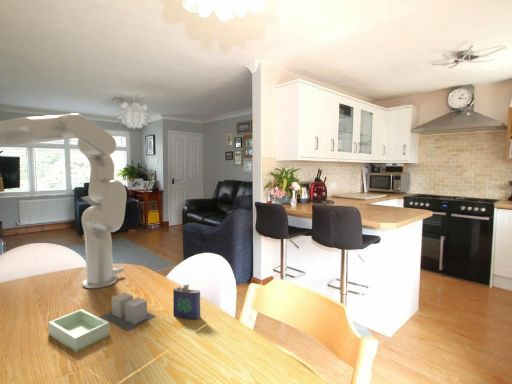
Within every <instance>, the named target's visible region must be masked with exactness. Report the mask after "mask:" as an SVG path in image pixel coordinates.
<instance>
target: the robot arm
mask: <svg viewBox="0 0 512 384" xmlns="http://www.w3.org/2000/svg"><path fill="white" fill-rule="evenodd" d="M70 139H77V147H78V149H79V151H80V153H82V154H83V155H84V156H85V157H86V159H87V160H88V162H89V164H90V174H89V182H88V183H89V184H88V197H89V199H90V200H91V201H93V202H95V203H101V205H91V206H88V207H87V208H86V209H85V210H84V211H83V213H82V215H81V226H82V230H83V235H84V244H85V245H84V246H85V247H84V248H85V268H86V279H84V280H83V281H82V287H84V288H86V289H101V288H106V287H109V286H111V285H113V284H115V283H117V281H118V276H117V275H118V274H121V273H123V272H125V269H124V267H120V268H117V267H115V268H114V266H113V265H114V264H113V239H112V234H111V233H115V232H116V231H118V230H120V228H121V227H122V226H123V224H124V220H125V214H126V206H127V205H126V204H127V195H128V194H127V189H126V186H125V185H124V183H123V182H121V181H119V180H117V179H115V163H114V161H113V158H112V157H111V155H112V154H113V153H115V151H116V149H117V142H116V139H115V138H114V136H113V135H112V134H110V133H109V132H108V131H106V130H105V129H103V127H101V126H99V125H98V124H97V123H95V122H94V121H93V120H91V119H90V118H88V117H86V116H84V115H83V114H80V113H74V112H73V113H67V114H58V115H55V114H54V115H41V116H27V117H26V116H24V117H18V118H17V117H16V118H11V119H7V120H0V146H10V145H11V146H12V145H32V144H40V143H47V142H48V143H49V142H54V141H64V140H70Z"/></svg>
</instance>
